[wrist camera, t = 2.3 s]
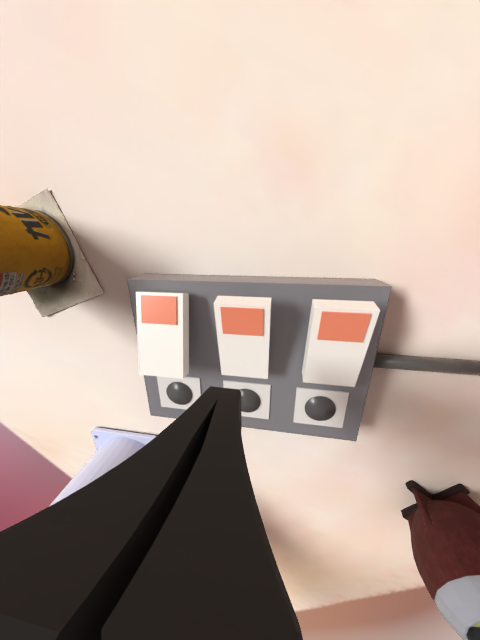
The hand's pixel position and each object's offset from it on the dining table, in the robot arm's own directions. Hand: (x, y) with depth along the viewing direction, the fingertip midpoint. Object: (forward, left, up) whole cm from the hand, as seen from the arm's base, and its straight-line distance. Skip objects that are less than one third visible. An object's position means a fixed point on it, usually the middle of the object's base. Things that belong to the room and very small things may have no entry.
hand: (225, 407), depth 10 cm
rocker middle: (+1, 0, -6) cm, 6 cm away
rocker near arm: (+1, +6, -6) cm, 8 cm away
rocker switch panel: (-2, -4, -9) cm, 11 cm away
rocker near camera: (+1, -5, -6) cm, 8 cm away
